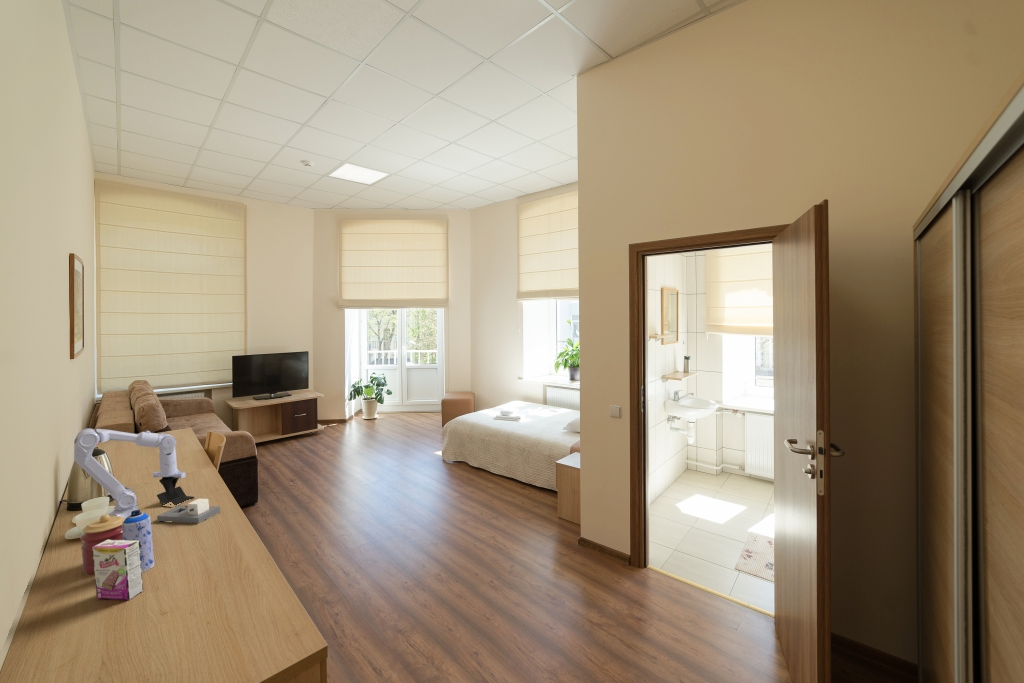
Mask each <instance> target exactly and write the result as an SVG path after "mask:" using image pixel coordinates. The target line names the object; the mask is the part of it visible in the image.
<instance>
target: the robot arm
mask: <svg viewBox="0 0 1024 683" xmlns="http://www.w3.org/2000/svg"><path fill="white" fill-rule="evenodd" d="M109 441H119V442H133V443H135V445H137V446H139V447H147V448H148V447H149V448H155V449H156V448H159V453H158V455H159V456H158V458H159V467H160V468H159V470H160V471H155V472H152V478H160V479H159V480H158V481H159V483H161V484H160V485H162V486H163V489H164V492H166V493H167V495H170V494H173V493H174V490H175V488H176V487H177V486H176V485H177V484H178V480H179V479H184V478H186V474H187V473H186V472H184V471H180V470H179V469H178V465H177V464H178V463H177V450H176V446H177V443H178V442H177V439H176V438H175V436H173V435H171V434H168V433H163V432H160V433H155V432H151V431H150V430H146V431H141V432H139V433H133V432H132V433H131V432H127V431H126V432H124V431H119V430H112V429H104V428H96V429H94V428H83V429H82V430H80V431H79V432H78V433H77V435H76V437H75V439H74V441H73V444H74V446H73V459H74V462H75V463H77V465H79V467H81V468H82V470H84V471H85V472H86V473H87V474H88V475H89V476H90V477H92V479H93V480H95V481H96V483H98V484H99V485H100V486H101V487H102V488H103V489H104V490H105V491H106V492H108V494H109V495H110V496H111V497H112V499H113V500H114V501H115V504H116V505H115V506H114V508H113V509H114V510H113V511H112V512H110V513H108V515H109V516H110V517H111V516H120V517H124V518H127V517H129V516H130V515H131V511H134V510H139V505H138V502H137V499H138V498H137V495H136V494H135V491H134V490H133V489H132V488H131V487H127V486H125V485H124V484H123V483H122V482H120V481H119V480H118V479H117V478H116V477H115V475H114V476H113V474H111V472H110V471H108V470H107V469H106V467H104V466H103V465H102V464H101V462H99V461H98V460H97V459H96V458H95V457H94V456H93V452H94V449H95V448H96V447H97V446H98V444H99V442H100V444H103V443H105V442H109Z"/></svg>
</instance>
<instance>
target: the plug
mask: <svg viewBox="0 0 1024 683" xmlns="http://www.w3.org/2000/svg"><path fill="white" fill-rule="evenodd" d="M187 505H188V514H191V515H199V514H201V513H203V512H205V511H207V510H209V505H210V504H209V498H197V499H195V500H193V501H191V502H189V503H187Z"/></svg>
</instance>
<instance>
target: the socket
mask: <svg viewBox="0 0 1024 683" xmlns="http://www.w3.org/2000/svg"><path fill="white" fill-rule="evenodd" d="M220 507H221V506H213V505H210V504H209V510H207V511H205V512H203V513H201V514H199V515H191V514H188V504H184V505H183V504H180V505H178V506H175V507H173V508H171V509H169V510H166V511H164V512H162V513H160V514H159V515H156V517H157V518H156V521H172V522H171V523H174V522H184V523H183V524H195V523H199V524H201V523H202V521H203V522H205V521H206V520H205V519H207V518H208V519H210V518H212V517H214V516H216V515H217V514H216V513H218V512H220V513H221V508H220ZM215 514H216V515H215ZM218 514H219V513H218ZM213 515H214V516H213ZM211 516H212V517H211ZM209 517H210V518H209ZM208 519H207V520H208ZM204 520H205V521H204ZM185 522H186V523H185ZM200 522H201V523H200Z"/></svg>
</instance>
